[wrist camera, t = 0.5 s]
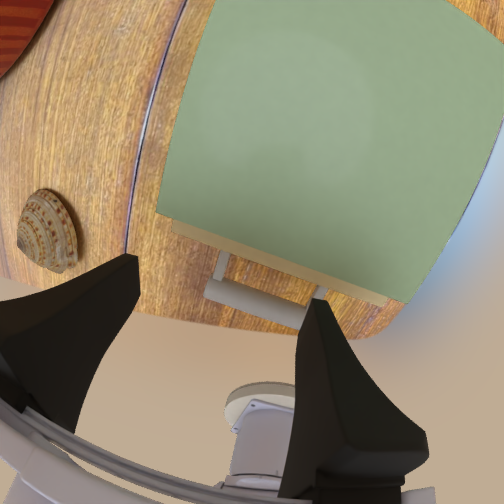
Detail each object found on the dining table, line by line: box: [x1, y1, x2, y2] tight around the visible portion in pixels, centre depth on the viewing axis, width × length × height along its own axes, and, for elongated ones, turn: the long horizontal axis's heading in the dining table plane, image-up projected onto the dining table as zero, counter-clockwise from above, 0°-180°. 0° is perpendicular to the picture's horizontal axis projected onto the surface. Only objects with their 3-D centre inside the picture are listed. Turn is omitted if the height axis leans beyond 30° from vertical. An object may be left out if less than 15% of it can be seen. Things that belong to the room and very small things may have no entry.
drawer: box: [171, 219, 389, 330], centre depth 15 cm, size 18×11×7 cm, turn 162°
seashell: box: [17, 189, 78, 274], centre depth 24 cm, size 8×6×8 cm
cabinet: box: [156, 0, 504, 304], centre depth 13 cm, size 14×13×9 cm
